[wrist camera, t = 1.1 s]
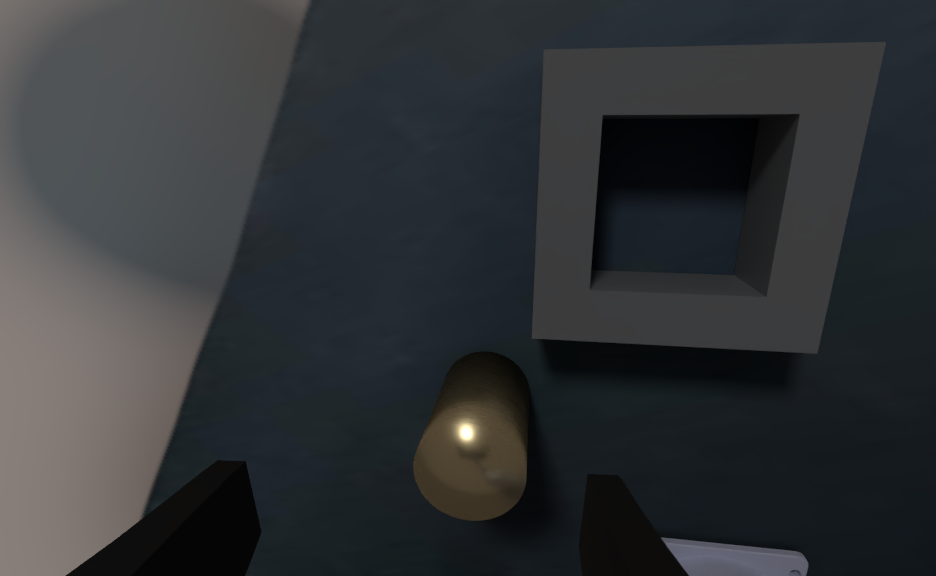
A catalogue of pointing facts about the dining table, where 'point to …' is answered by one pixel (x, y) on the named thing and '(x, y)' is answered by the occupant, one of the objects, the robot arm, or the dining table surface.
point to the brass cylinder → (476, 439)
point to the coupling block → (767, 203)
